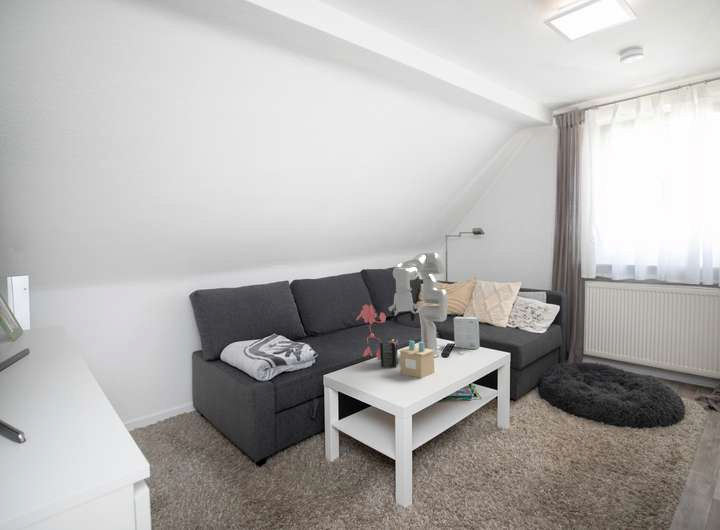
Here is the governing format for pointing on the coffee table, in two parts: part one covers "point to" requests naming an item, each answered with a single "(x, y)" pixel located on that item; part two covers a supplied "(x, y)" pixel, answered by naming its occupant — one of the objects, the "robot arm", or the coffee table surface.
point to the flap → (423, 350)
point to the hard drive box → (466, 332)
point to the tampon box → (388, 353)
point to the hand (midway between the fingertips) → (404, 321)
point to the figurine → (369, 317)
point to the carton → (416, 362)
